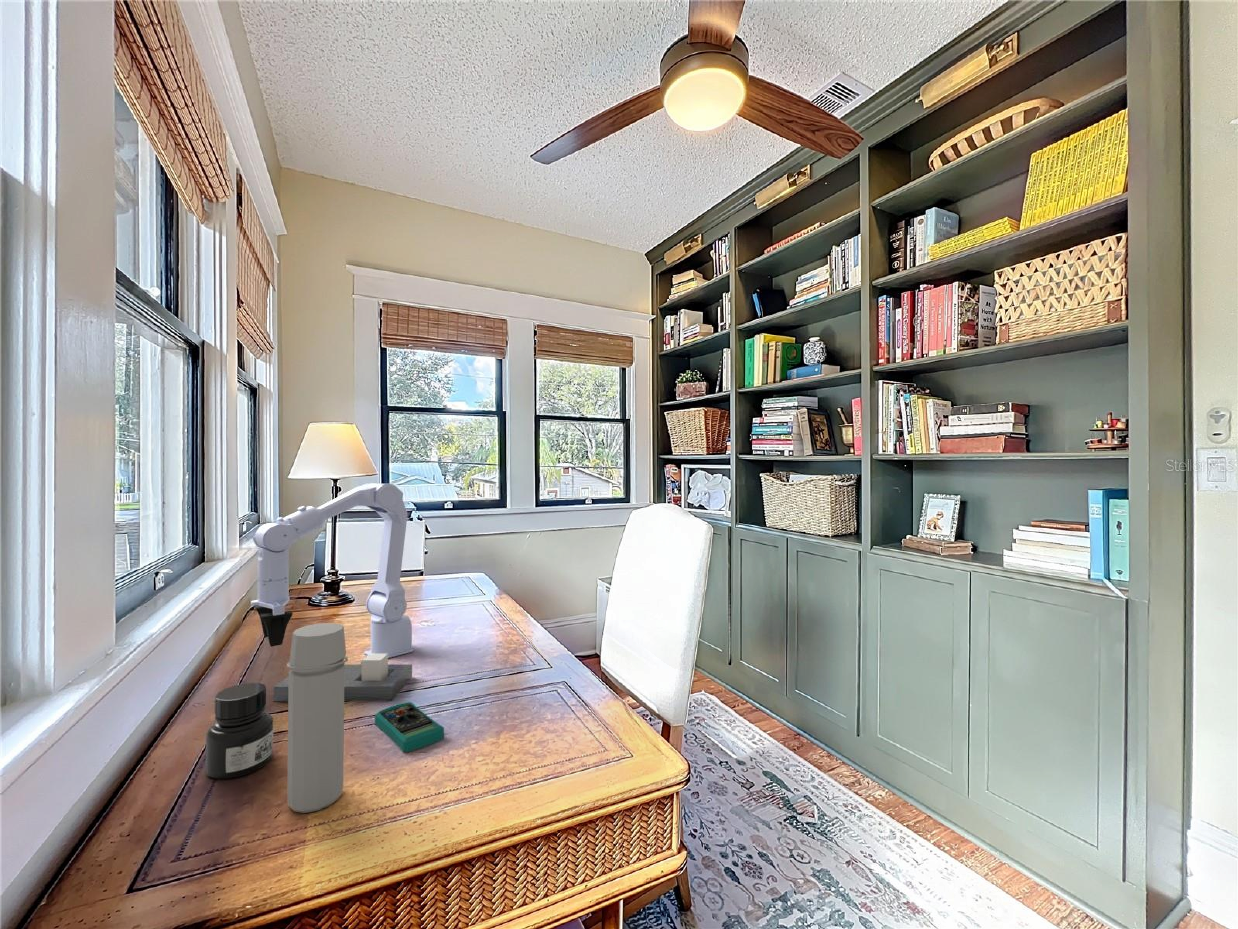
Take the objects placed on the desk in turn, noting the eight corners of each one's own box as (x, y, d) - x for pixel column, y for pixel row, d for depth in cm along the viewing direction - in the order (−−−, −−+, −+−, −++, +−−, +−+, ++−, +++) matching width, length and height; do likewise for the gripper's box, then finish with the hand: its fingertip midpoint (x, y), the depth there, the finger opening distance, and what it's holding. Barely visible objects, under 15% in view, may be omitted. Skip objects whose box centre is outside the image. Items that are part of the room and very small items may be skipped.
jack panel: (412, 677, 122) (412, 664, 122) (391, 700, 110) (392, 686, 110) (305, 677, 121) (305, 664, 121) (273, 701, 109) (273, 686, 109)
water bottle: (332, 815, 75) (334, 637, 74) (273, 818, 74) (275, 638, 74) (359, 776, 84) (360, 618, 84) (307, 778, 83) (308, 618, 83)
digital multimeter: (411, 713, 106) (411, 698, 106) (445, 741, 95) (445, 725, 95) (372, 725, 101) (373, 710, 101) (404, 757, 90) (404, 739, 90)
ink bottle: (237, 785, 81) (237, 707, 81) (188, 779, 83) (189, 702, 83) (287, 751, 91) (288, 681, 91) (242, 746, 92) (243, 677, 92)
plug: (387, 685, 118) (388, 653, 118) (380, 692, 114) (380, 660, 114) (366, 685, 118) (366, 653, 118) (358, 692, 114) (358, 660, 114)
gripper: (246, 575, 119) (246, 636, 119) (256, 587, 108) (255, 654, 108) (283, 571, 124) (283, 629, 124) (296, 582, 113) (295, 646, 113)
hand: (273, 640), depth 116 cm, fingers open, 7 cm apart
